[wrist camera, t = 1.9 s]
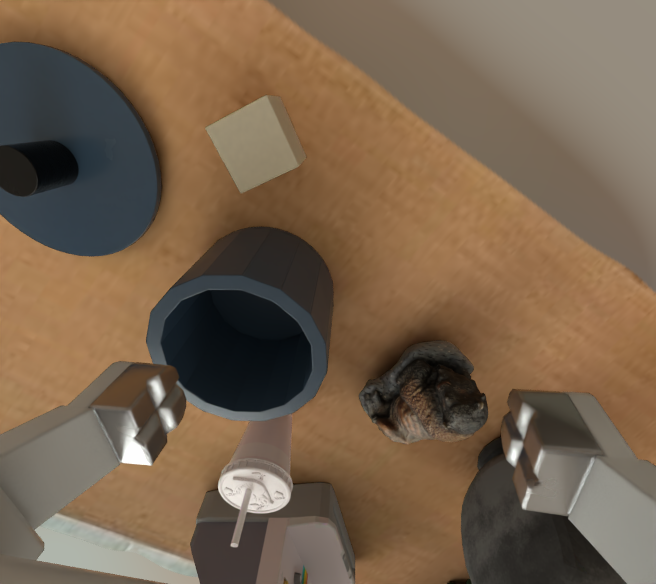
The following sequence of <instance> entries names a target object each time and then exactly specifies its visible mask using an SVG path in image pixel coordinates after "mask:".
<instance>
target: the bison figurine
mask: <svg viewBox="0 0 656 584" xmlns="http://www.w3.org/2000/svg"><path fill="white" fill-rule="evenodd" d="M473 370H474V366H473V365H472V363H471V362H470V361H469V360H468V359H467V357H465V356H464V355H463V354H462V353H461V352H460V351H459V349H458V348H457V347H456V346H454V345H453V344H452V343H450V342H447V341H441V340H438V341H430V342H423V343H417V344H414V345H412V346H410V347H408V348H407V349H406V350H405V351H404V352H403V354H402V356H401V358H400V359H399V361H398V362H397V364H396V365H395V366H394V367H393V368H392V369H391V370H389V371H387V372H386V373H385V374H384V375H382V376H381V377H379V378H376V379H373V380H368V382H367V383H366V385H365V387H364V388H363V390H362V391H361V392H360V394H359V399H360V401H361V404H362V407H363V409H364V411H365V412H366V413H367V414H368V416H369V417H370V418H371V420H372V422H373V423H375V424H377V426H378V428H379V430H380V431H382V432H383V434H384V435H385V436H387V437H389V439H391V440H392V441H394V442H401V443H403V444H410V443H413V442H417V441H419V440H422V439H429V440H434V439H436V440H440V441H443V442H456V441H462V440H465V439H468V438H469V437H471V436H473V434H474V433H475V432H476V431H477V430H479V429H480V428H481V427H482V426H483V425H484V424H485V423H486V421H487V418H488V407H487V401H486V396H485V394H484V393H482V394H481V393H480V391H479V390H478V388H477V386H476V383H475V381H474V380H471V376H470V374H471V373H472V371H473Z"/></svg>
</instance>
